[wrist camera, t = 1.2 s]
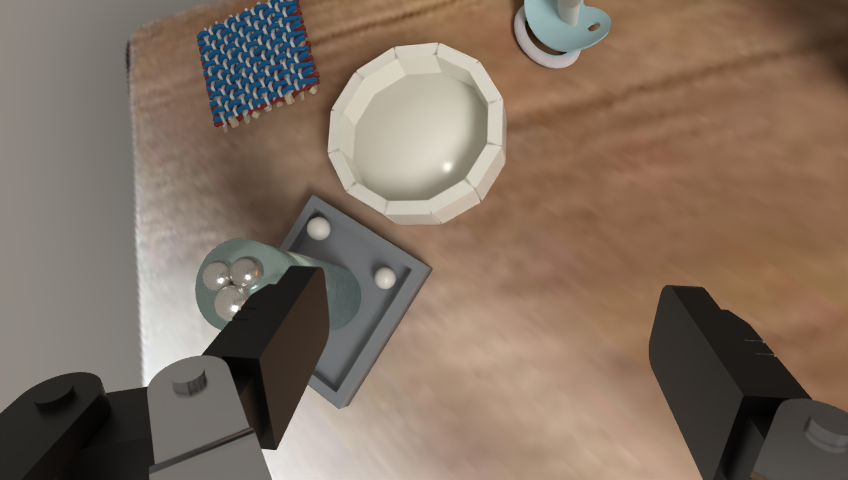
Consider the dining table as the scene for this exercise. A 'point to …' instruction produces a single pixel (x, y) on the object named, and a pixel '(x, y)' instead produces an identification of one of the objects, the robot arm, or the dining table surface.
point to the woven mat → (256, 61)
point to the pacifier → (559, 29)
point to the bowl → (419, 134)
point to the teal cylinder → (265, 280)
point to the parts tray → (380, 293)
